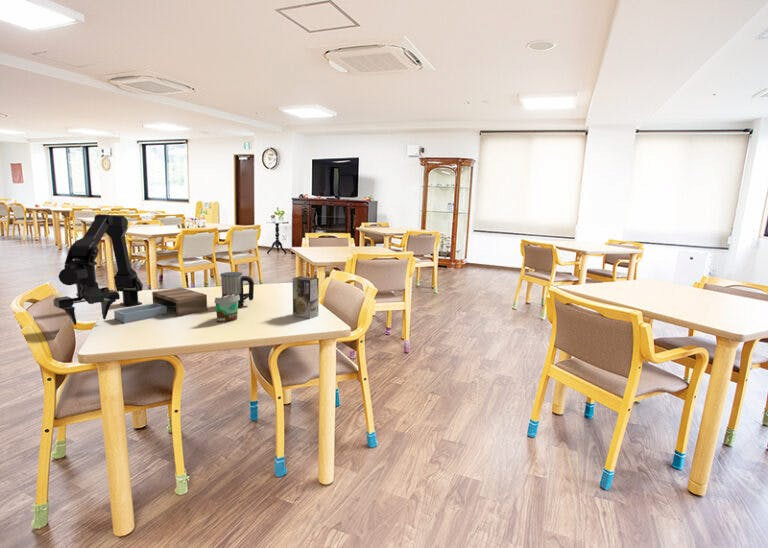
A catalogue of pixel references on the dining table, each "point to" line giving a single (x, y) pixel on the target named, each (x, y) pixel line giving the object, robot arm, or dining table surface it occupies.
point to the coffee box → (305, 296)
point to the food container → (227, 307)
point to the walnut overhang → (182, 300)
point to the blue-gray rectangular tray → (140, 312)
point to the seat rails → (170, 305)
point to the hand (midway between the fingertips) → (90, 321)
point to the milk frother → (236, 285)
